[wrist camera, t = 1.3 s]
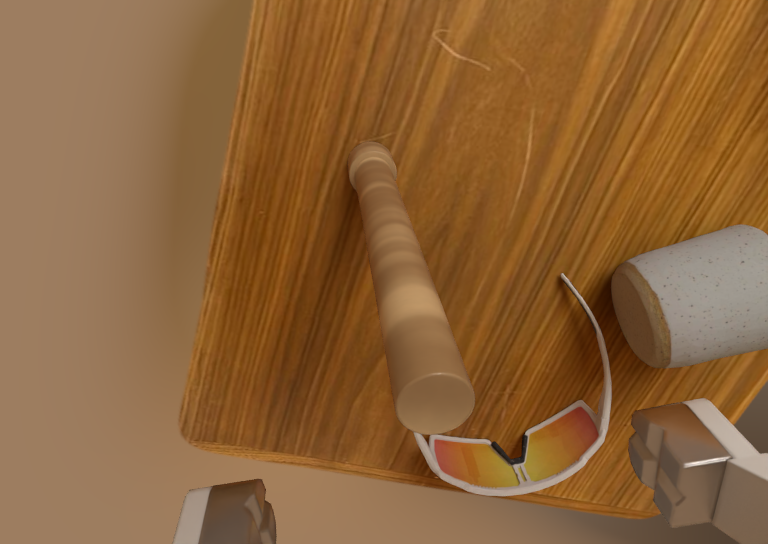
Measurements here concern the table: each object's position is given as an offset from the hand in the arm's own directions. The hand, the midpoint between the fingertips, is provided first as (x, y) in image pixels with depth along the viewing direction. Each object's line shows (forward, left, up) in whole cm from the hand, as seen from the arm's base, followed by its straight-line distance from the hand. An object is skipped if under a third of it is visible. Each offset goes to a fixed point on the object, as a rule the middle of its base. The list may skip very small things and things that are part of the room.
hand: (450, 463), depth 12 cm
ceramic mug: (+12, +19, -22) cm, 31 cm away
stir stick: (0, 0, -22) cm, 22 cm away
